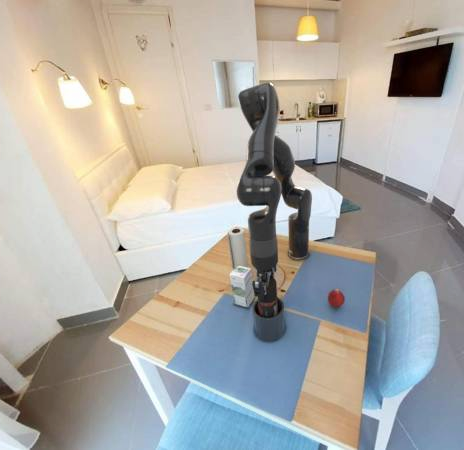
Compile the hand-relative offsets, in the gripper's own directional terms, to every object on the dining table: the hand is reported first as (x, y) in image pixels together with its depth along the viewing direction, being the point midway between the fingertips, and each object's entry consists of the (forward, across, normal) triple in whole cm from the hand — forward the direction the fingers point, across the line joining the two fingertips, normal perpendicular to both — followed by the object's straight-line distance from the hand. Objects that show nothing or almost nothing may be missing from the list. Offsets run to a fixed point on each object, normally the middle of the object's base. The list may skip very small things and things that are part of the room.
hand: (267, 294), depth 75 cm
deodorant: (+11, 0, 0) cm, 11 cm away
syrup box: (+15, -9, -13) cm, 22 cm away
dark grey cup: (+15, 0, 0) cm, 15 cm away
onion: (+15, -15, +20) cm, 29 cm away
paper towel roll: (+15, -23, -21) cm, 35 cm away
